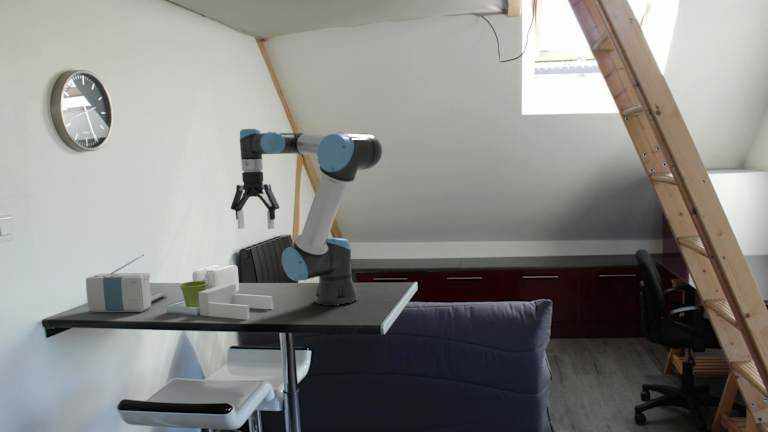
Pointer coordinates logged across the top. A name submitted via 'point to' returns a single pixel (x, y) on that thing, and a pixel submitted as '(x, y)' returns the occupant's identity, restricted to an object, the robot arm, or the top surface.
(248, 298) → the bay
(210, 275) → the cable organizer
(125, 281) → the stereo radio cassette player
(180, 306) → the tray
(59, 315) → the top surface
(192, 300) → the plant pot
